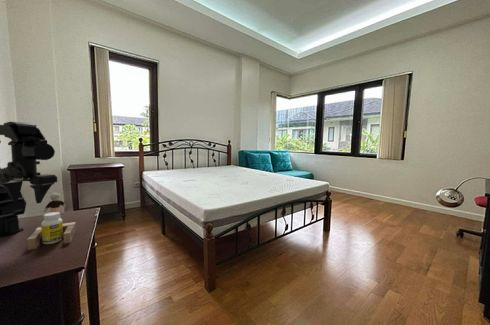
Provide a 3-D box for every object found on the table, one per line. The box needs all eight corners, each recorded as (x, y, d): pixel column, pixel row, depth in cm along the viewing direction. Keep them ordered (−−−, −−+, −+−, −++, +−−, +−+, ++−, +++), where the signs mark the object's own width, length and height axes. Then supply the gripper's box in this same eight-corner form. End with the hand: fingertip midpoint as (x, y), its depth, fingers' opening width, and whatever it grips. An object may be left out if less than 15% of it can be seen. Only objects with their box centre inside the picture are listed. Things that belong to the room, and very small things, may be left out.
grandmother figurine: (50, 224, 84) (48, 195, 83) (42, 224, 84) (41, 194, 83) (69, 218, 92) (67, 191, 90) (61, 217, 92) (60, 190, 91)
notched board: (38, 236, 73) (38, 227, 73) (76, 231, 79) (75, 222, 79) (27, 249, 64) (27, 238, 64) (70, 242, 70) (70, 232, 70)
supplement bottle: (50, 245, 68) (48, 217, 67) (37, 243, 69) (36, 215, 68) (67, 238, 73) (66, 212, 72) (55, 236, 74) (54, 210, 73)
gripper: (-33, 159, 63) (-29, 207, 64) (20, 161, 61) (23, 211, 63) (11, 157, 74) (14, 198, 75) (57, 159, 72) (59, 201, 74)
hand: (27, 202), depth 71 cm, fingers open, 9 cm apart
